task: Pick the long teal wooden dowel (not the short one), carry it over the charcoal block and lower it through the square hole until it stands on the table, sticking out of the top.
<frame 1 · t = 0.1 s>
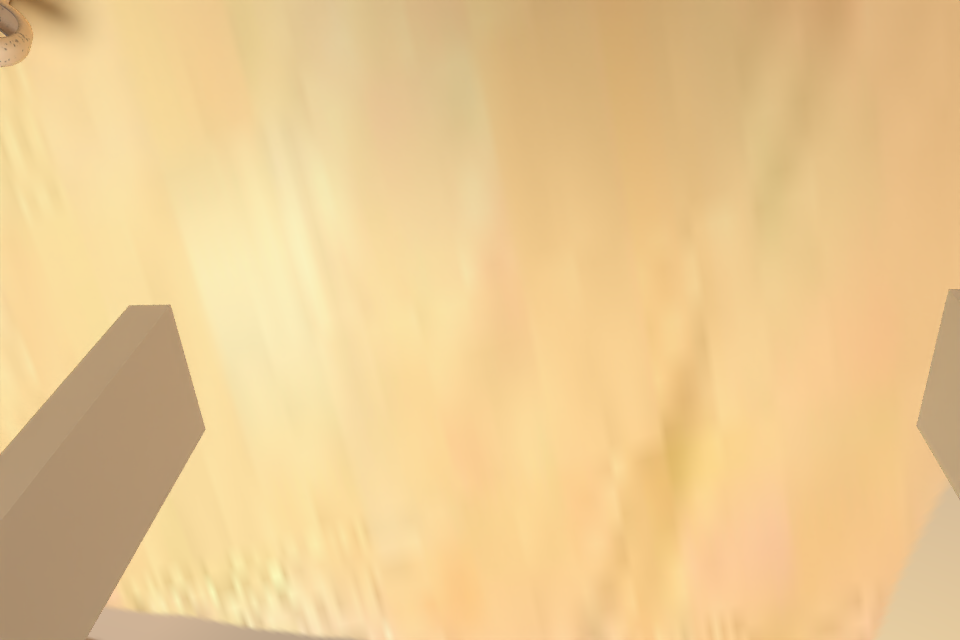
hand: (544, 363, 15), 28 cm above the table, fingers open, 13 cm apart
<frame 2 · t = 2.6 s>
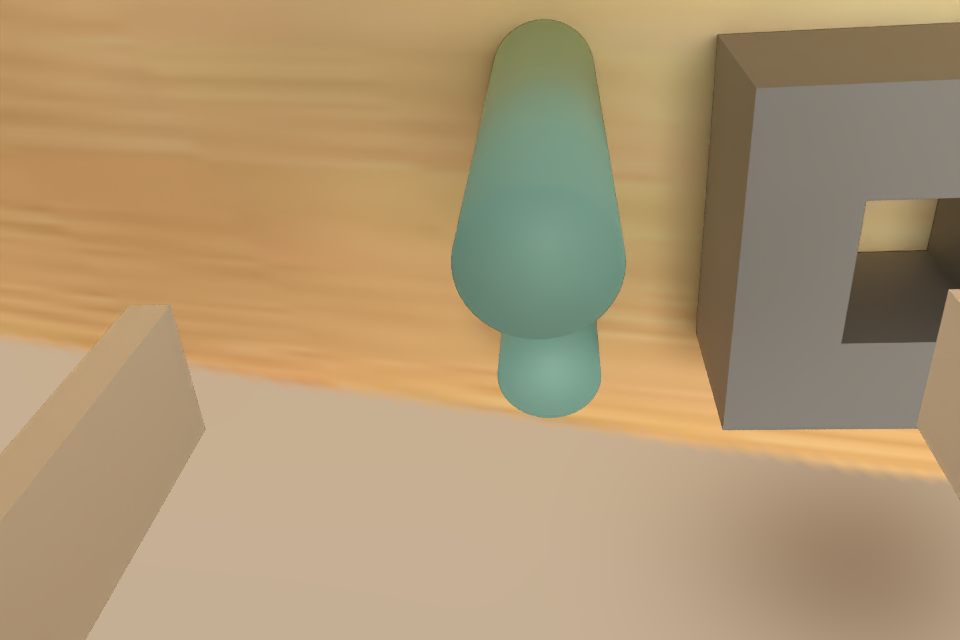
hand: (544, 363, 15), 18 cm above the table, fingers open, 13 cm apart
long pin: (543, 71, 31), on the table
hole block: (870, 192, 32), on the table
short pin: (549, 293, 35), on the table
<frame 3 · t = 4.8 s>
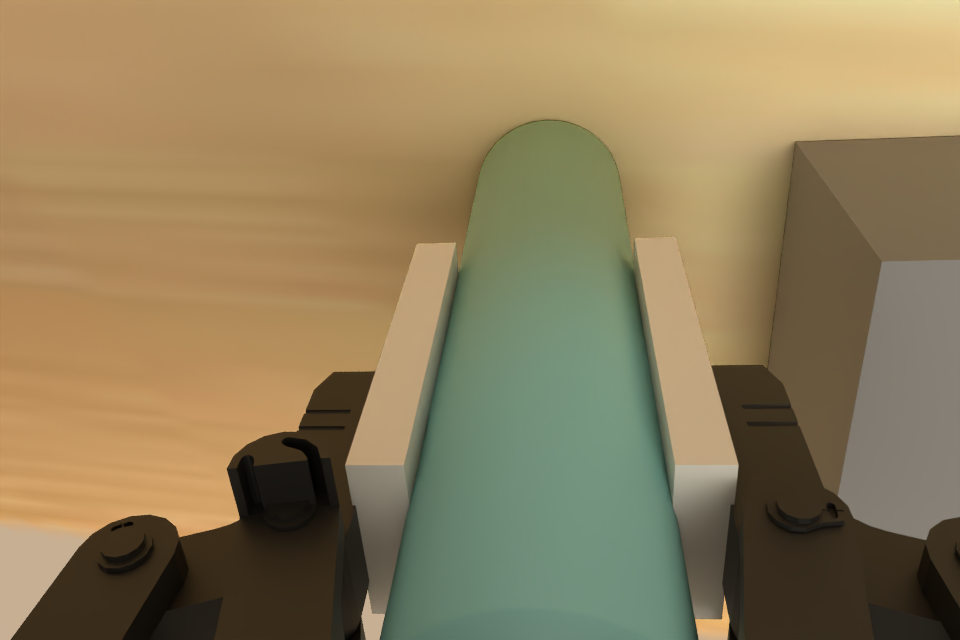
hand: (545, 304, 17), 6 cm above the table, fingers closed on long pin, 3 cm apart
long pin: (548, 189, 22), on the table, touching gripper
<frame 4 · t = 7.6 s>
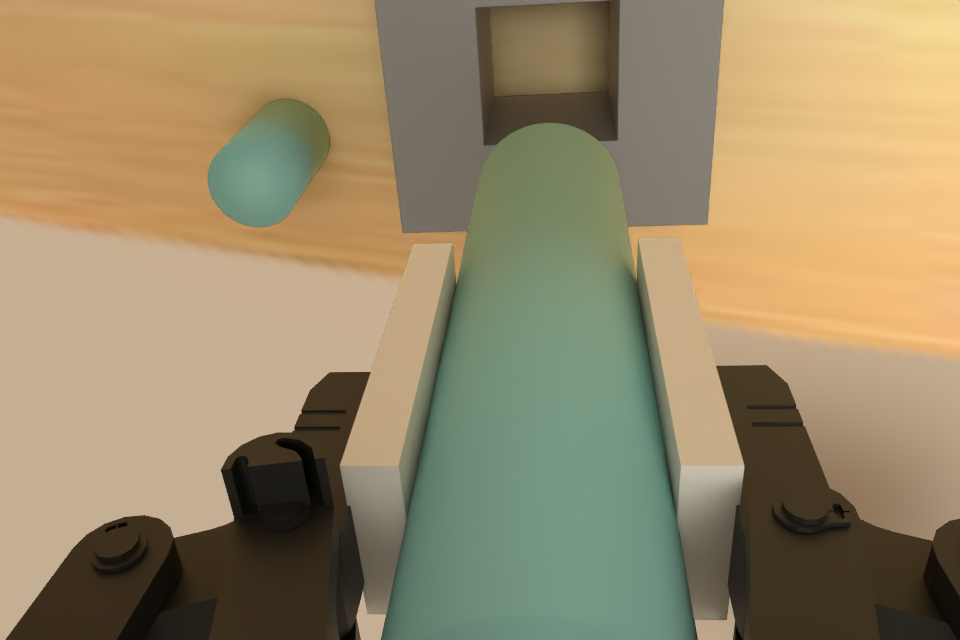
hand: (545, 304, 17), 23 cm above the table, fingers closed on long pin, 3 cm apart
long pin: (548, 192, 22), point 17 cm above the table, touching gripper
hole block: (549, 35, 37), on the table
short pin: (291, 137, 40), on the table
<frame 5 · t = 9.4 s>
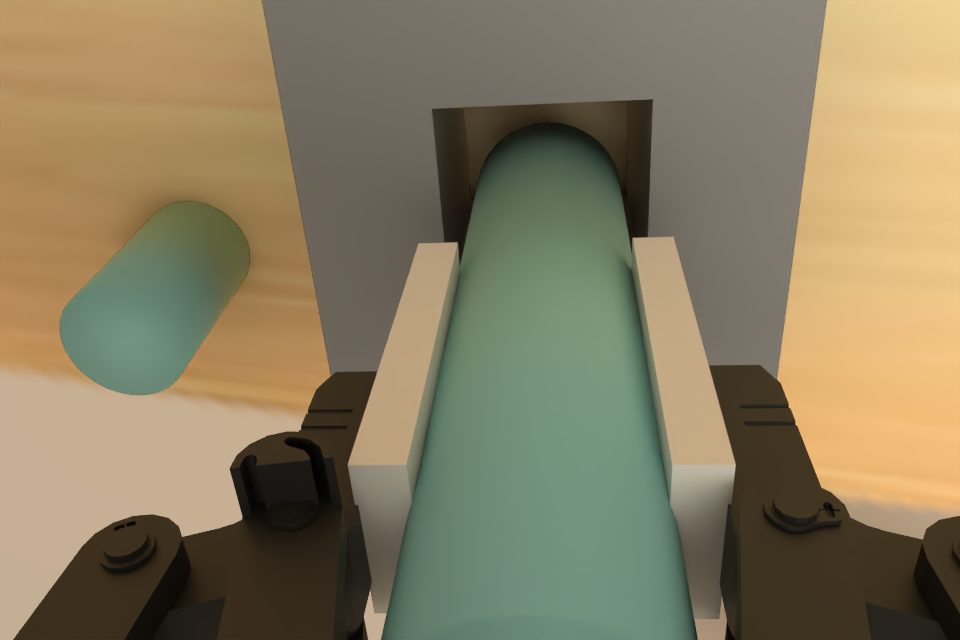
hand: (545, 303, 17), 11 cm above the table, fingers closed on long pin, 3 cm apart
long pin: (548, 192, 22), point 5 cm above the table, touching gripper
hole block: (546, 122, 26), on the table
short pin: (198, 250, 30), on the table
when the fingers open (8 cm above the table, at t = 10.8 s): long pin drops 3 cm, on the table.
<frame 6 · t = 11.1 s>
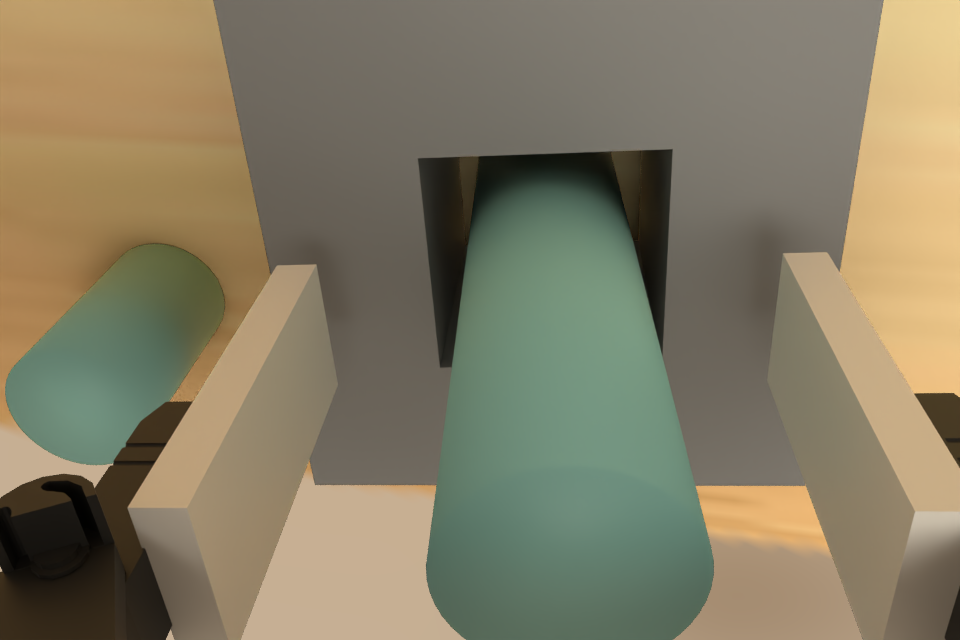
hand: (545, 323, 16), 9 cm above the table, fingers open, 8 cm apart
long pin: (544, 162, 24), on the table
hole block: (549, 160, 24), on the table
short pin: (167, 295, 27), on the table
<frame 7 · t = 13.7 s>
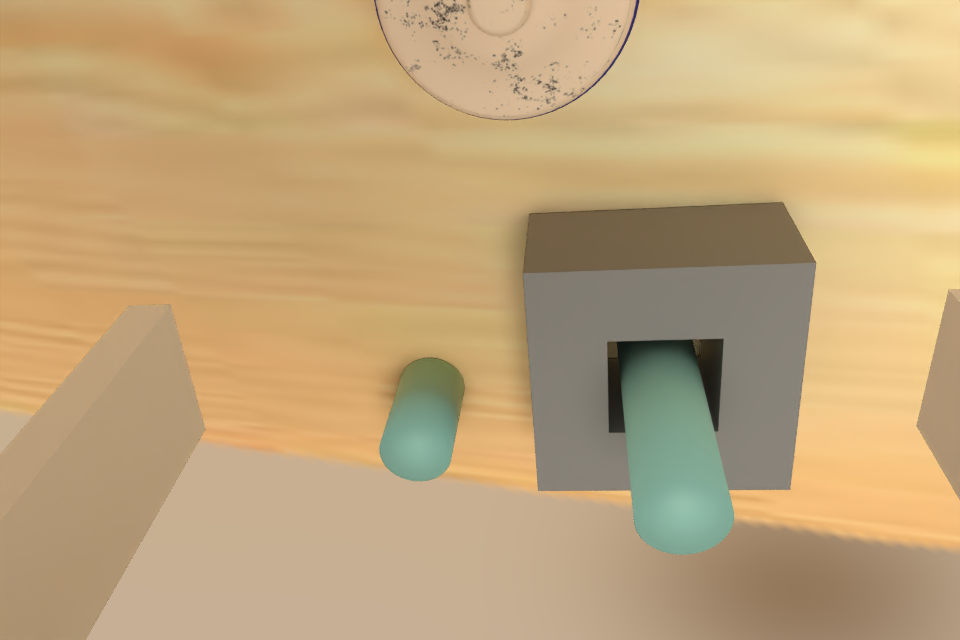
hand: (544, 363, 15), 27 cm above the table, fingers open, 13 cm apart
long pin: (649, 317, 45), on the table
hole block: (652, 316, 45), on the table
short pin: (432, 385, 48), on the table
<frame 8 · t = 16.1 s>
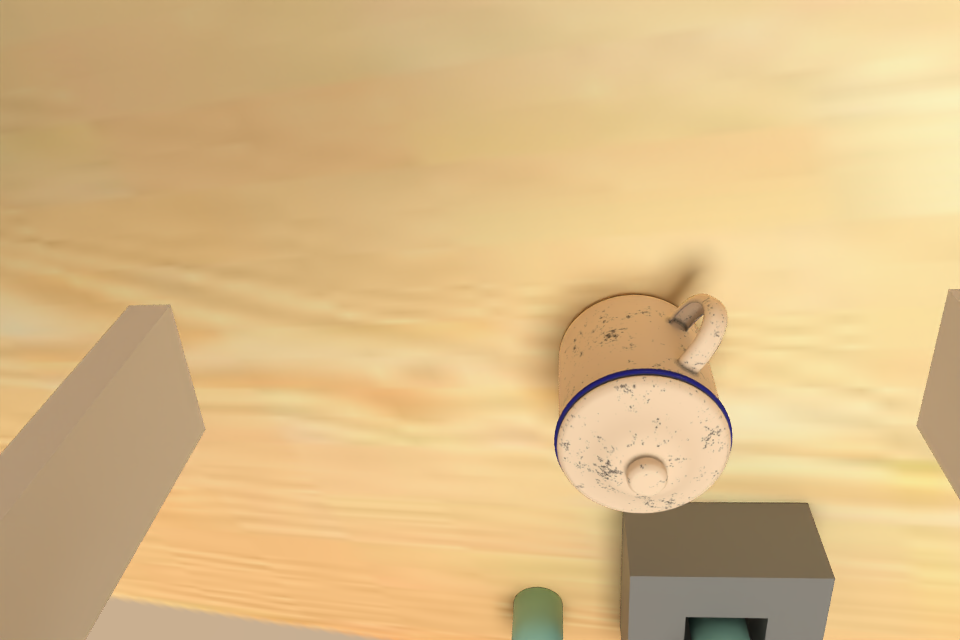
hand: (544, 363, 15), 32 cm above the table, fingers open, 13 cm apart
long pin: (706, 568, 60), on the table
hole block: (708, 567, 60), on the table
teacup with lid: (643, 335, 52), on the table
short pin: (538, 604, 64), on the table
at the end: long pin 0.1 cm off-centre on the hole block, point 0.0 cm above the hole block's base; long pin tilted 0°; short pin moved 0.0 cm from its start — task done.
